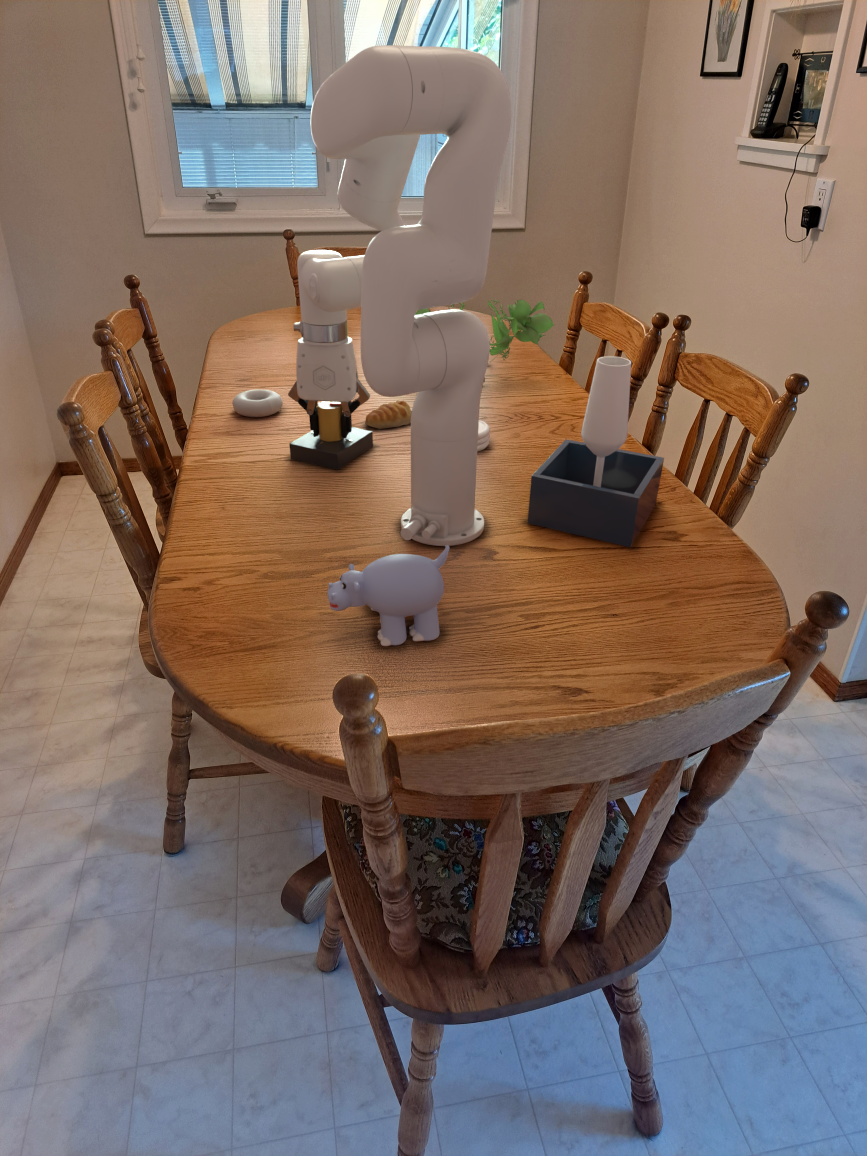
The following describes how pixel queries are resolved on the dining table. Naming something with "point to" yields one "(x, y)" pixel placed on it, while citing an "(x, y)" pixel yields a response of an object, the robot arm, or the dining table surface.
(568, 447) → the basin
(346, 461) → the panel
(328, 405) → the tap knob
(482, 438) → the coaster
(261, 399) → the donut
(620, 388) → the champagne flute
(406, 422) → the pastry
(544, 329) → the plant cuttings
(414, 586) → the hippopotamus toy
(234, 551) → the dining table surface
